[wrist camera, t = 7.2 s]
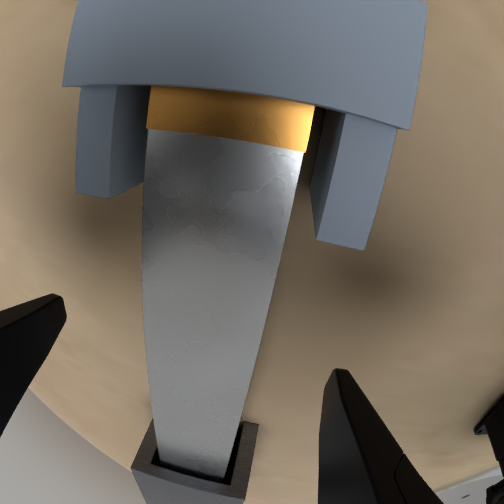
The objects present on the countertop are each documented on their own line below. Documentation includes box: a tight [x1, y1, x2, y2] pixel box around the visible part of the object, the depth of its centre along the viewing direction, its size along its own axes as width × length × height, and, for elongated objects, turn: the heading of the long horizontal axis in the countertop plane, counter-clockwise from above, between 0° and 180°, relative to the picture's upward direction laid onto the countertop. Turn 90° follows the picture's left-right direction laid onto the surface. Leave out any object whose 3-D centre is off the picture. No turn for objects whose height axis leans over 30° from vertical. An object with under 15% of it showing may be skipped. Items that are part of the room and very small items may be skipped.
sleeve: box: [131, 419, 259, 504], centre depth 19 cm, size 7×13×6 cm, turn 171°
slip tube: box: [142, 86, 315, 484], centre depth 13 cm, size 4×22×4 cm, turn 171°
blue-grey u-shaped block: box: [62, 0, 428, 251], centre depth 8 cm, size 8×6×6 cm
